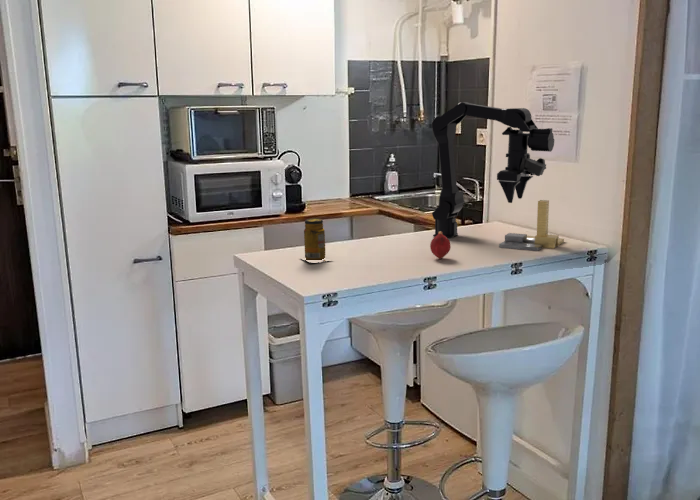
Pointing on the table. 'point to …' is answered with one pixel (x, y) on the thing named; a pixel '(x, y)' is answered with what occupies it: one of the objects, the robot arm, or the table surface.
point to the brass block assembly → (545, 228)
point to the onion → (440, 245)
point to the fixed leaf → (520, 242)
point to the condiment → (314, 239)
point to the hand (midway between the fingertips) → (515, 200)
